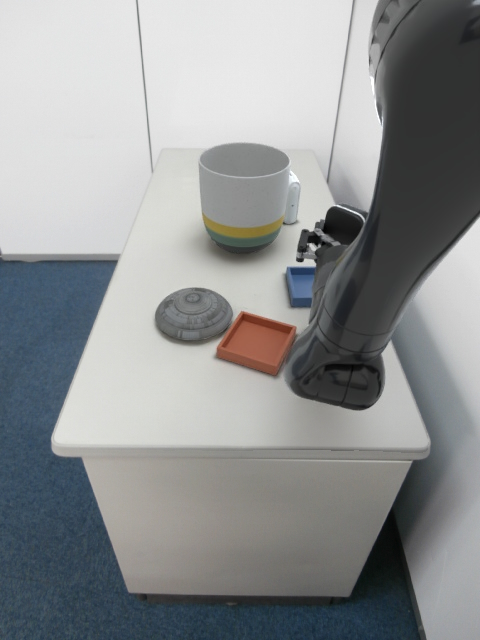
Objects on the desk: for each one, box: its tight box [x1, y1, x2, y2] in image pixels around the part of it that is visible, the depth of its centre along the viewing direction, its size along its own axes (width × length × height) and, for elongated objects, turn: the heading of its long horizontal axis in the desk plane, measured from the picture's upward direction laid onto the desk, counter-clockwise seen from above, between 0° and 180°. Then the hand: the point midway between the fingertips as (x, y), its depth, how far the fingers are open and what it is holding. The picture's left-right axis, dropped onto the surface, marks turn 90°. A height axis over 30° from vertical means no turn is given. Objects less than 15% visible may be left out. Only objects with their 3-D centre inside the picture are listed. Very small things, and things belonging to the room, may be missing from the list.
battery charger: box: [323, 202, 369, 242], centre depth 73 cm, size 7×4×11 cm, turn 45°
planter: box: [197, 141, 292, 255], centre depth 102 cm, size 20×20×21 cm
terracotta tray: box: [216, 310, 298, 377], centre depth 82 cm, size 11×11×2 cm
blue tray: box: [285, 265, 316, 308], centre depth 96 cm, size 11×11×2 cm
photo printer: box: [283, 170, 302, 225], centre depth 118 cm, size 10×4×12 cm, turn 21°
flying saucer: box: [154, 286, 234, 341], centre depth 87 cm, size 15×15×6 cm
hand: (346, 227), depth 73 cm, fingers closed on battery charger, 7 cm apart
